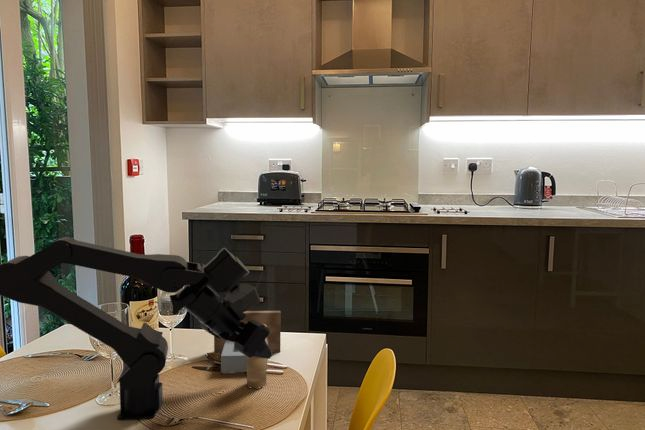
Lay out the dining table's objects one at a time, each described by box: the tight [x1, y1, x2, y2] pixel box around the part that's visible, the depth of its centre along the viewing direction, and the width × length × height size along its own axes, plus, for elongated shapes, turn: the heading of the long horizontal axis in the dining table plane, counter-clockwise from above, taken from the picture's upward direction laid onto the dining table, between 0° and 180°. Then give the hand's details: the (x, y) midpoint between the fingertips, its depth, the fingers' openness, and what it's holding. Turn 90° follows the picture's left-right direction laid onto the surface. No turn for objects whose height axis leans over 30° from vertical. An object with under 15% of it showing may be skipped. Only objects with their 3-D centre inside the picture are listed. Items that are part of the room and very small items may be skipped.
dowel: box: [246, 324, 267, 389], centre depth 96 cm, size 4×4×12 cm
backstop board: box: [213, 310, 282, 354], centre depth 114 cm, size 16×2×10 cm, turn 95°
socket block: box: [220, 338, 268, 374], centre depth 107 cm, size 10×10×4 cm
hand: (258, 349), depth 96 cm, fingers open, 9 cm apart
